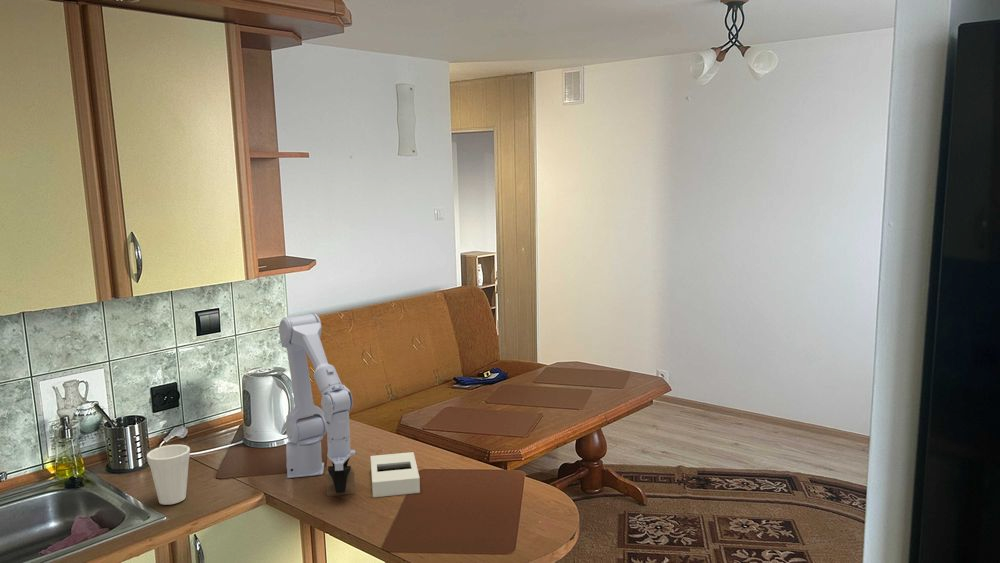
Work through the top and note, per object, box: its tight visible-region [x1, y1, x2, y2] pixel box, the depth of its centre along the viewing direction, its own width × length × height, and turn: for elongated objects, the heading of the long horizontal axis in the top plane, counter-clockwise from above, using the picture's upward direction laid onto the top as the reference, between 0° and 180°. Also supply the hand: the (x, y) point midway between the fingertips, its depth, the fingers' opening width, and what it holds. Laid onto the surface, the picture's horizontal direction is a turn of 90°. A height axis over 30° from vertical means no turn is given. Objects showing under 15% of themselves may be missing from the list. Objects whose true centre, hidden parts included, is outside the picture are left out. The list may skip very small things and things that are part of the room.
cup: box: [146, 444, 191, 505], centre depth 178 cm, size 10×10×13 cm
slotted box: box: [370, 451, 421, 498], centre depth 189 cm, size 12×18×4 cm, turn 12°
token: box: [325, 466, 356, 497], centre depth 182 cm, size 7×3×6 cm, turn 102°
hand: (340, 486), depth 182 cm, fingers open, 7 cm apart
